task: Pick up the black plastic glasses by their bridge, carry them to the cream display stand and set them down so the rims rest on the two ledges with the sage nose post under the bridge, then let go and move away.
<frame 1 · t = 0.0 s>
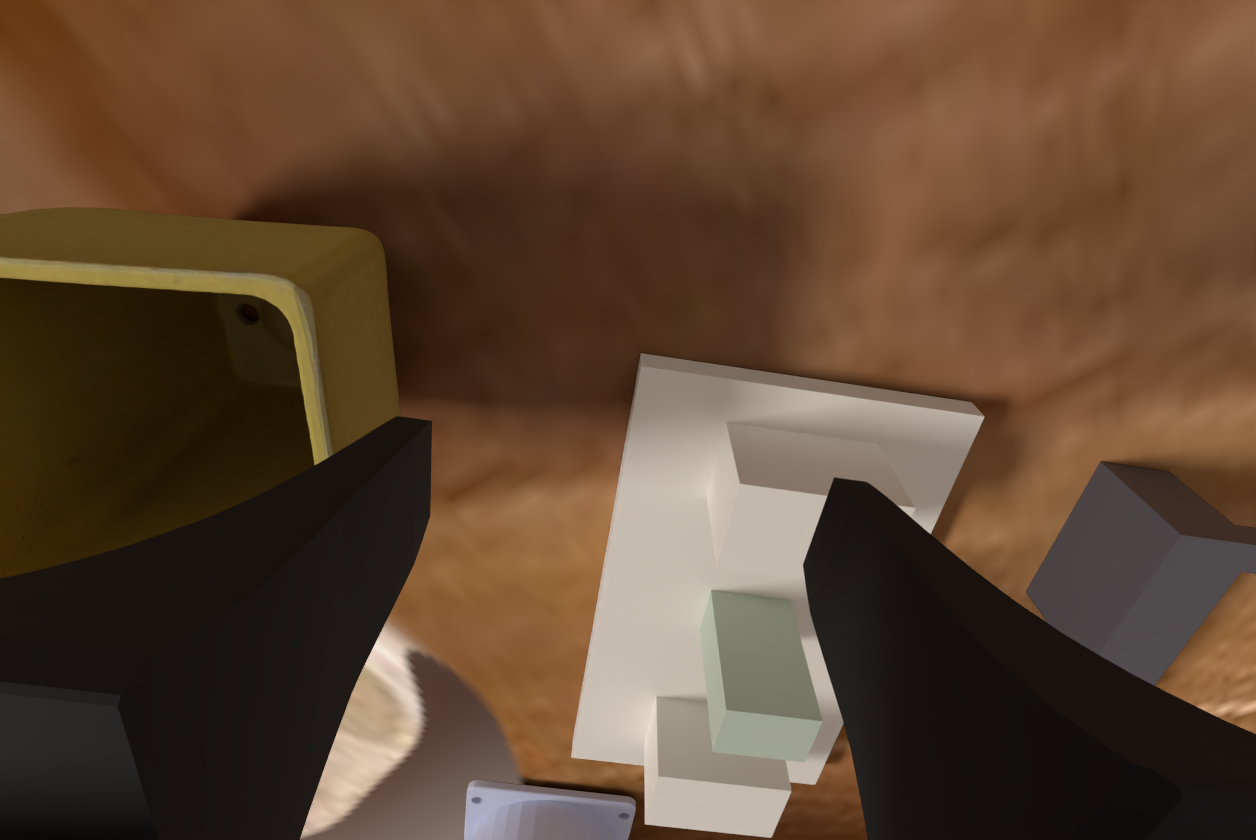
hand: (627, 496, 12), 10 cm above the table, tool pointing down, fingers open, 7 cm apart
flower pot: (310, 316, 22), on the table
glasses: (1034, 633, 27), on the table
display stand: (740, 596, 27), on the table
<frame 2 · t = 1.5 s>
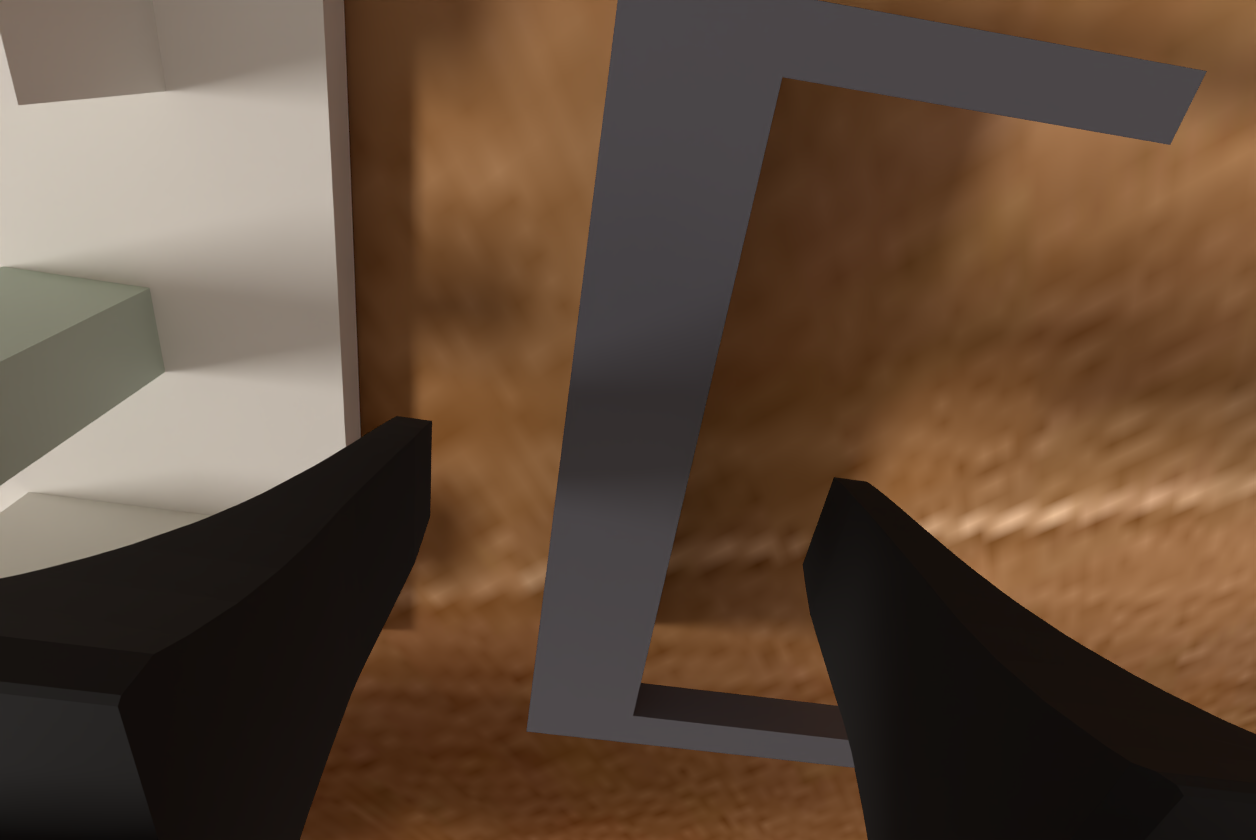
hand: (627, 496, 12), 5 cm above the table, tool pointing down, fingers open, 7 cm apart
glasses: (627, 379, 17), on the table
display stand: (117, 306, 16), on the table
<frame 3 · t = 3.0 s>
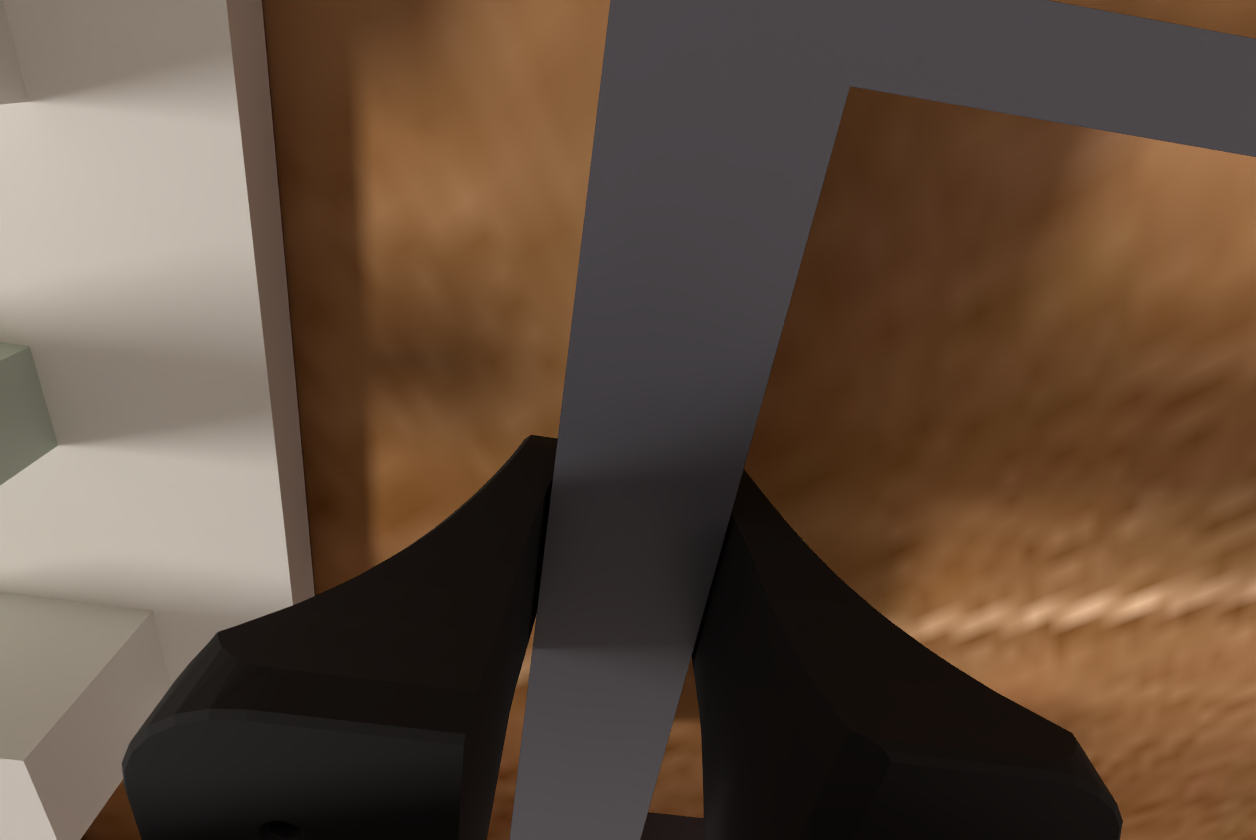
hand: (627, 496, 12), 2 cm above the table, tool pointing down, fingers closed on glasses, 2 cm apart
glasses: (628, 449, 14), on the table, touching gripper
display stand: (2, 362, 13), on the table
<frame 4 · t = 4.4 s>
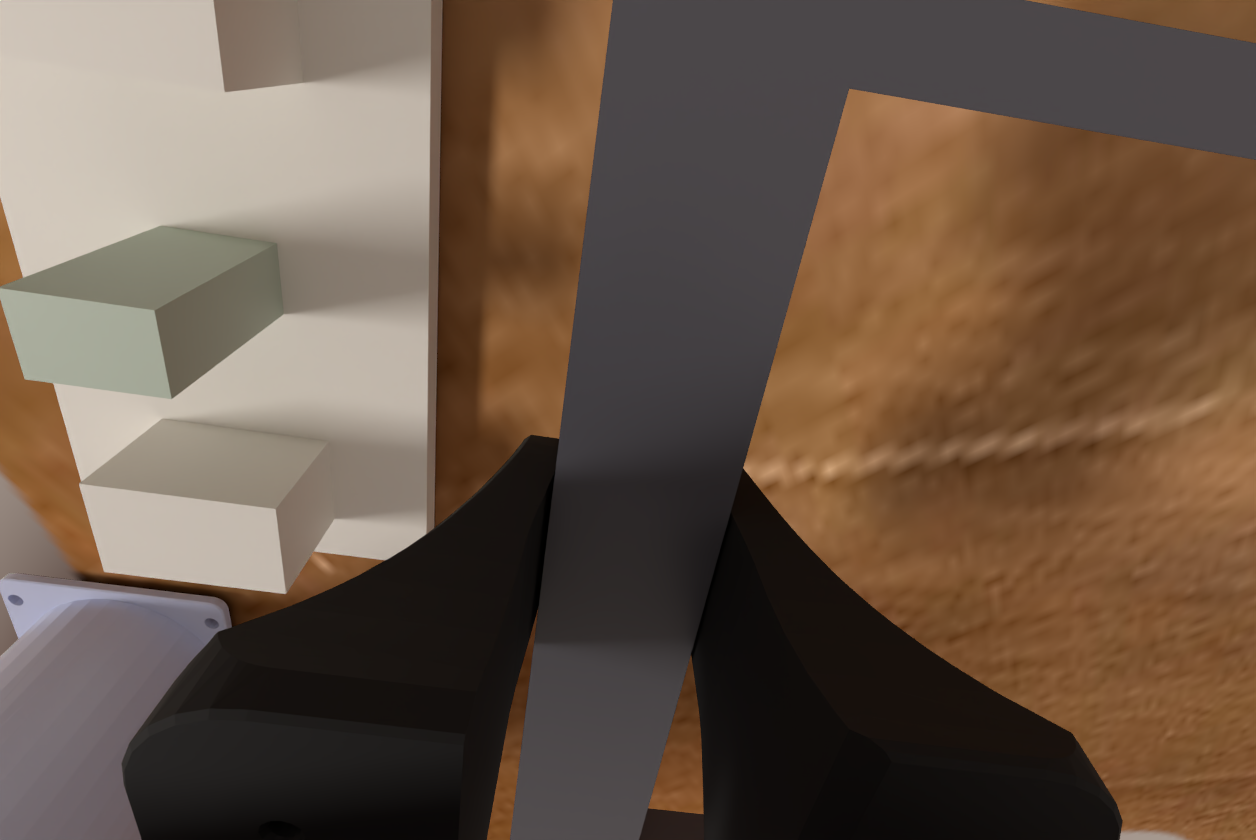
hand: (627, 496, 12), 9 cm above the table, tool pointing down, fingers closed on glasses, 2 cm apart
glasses: (629, 447, 14), point 7 cm above the table, touching gripper
display stand: (242, 260, 19), on the table
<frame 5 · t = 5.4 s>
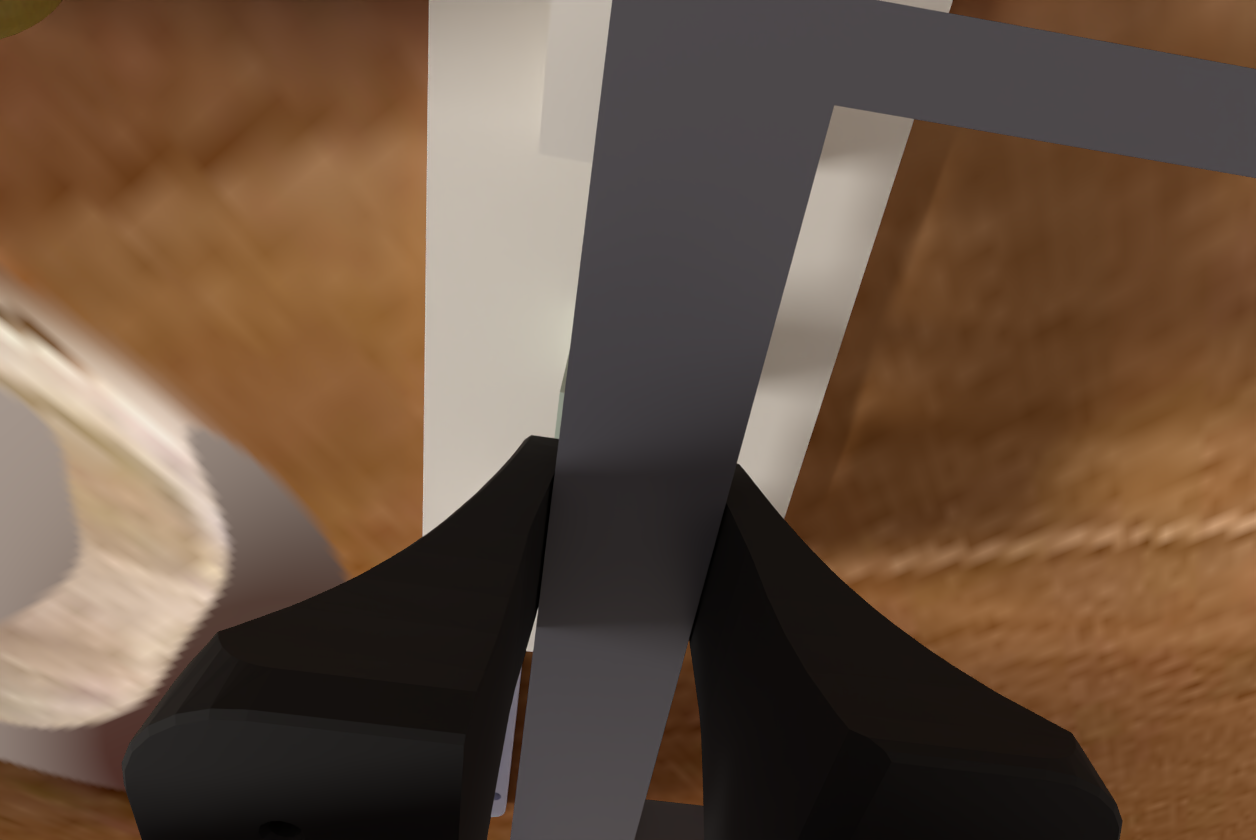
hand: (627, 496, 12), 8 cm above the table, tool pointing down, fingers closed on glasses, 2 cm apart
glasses: (627, 447, 14), point 6 cm above the table, touching gripper
display stand: (631, 333, 19), on the table
when the fingers open (7 cm above the table, at t = 6.2 s): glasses stays where it is, resting on display stand.
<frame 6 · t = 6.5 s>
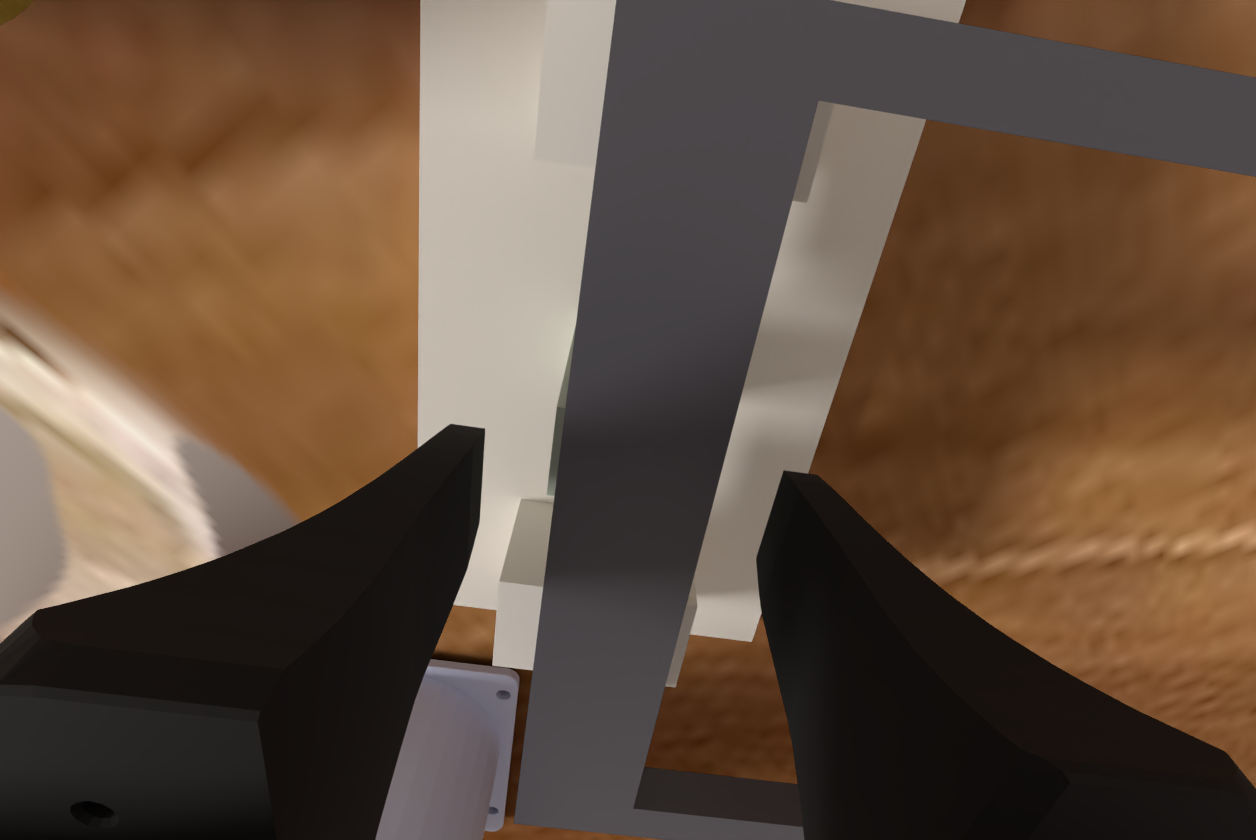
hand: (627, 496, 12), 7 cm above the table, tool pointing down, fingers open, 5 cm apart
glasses: (628, 429, 15), point 4 cm above the table, touching display stand
display stand: (632, 341, 19), on the table
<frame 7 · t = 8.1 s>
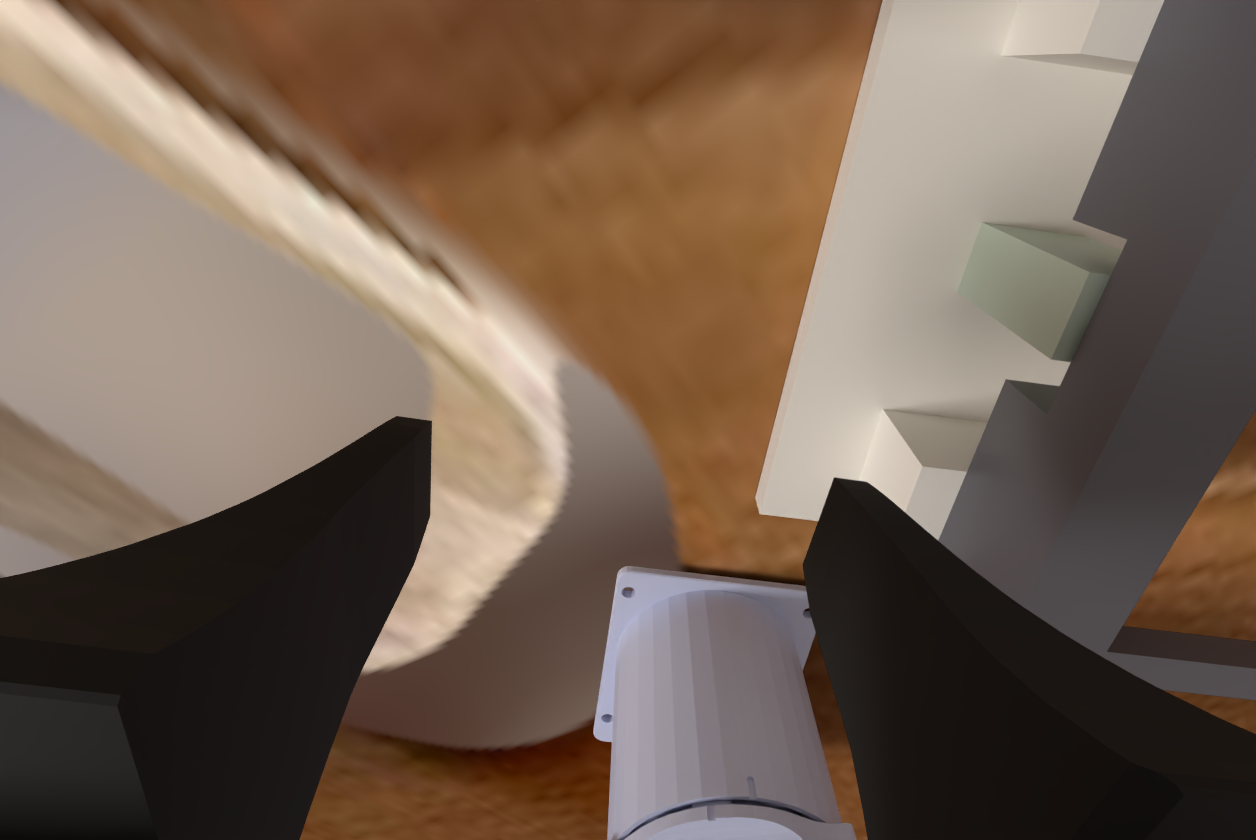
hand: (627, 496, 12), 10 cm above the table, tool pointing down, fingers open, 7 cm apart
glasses: (1087, 310, 17), point 4 cm above the table, touching display stand
display stand: (1003, 256, 20), on the table
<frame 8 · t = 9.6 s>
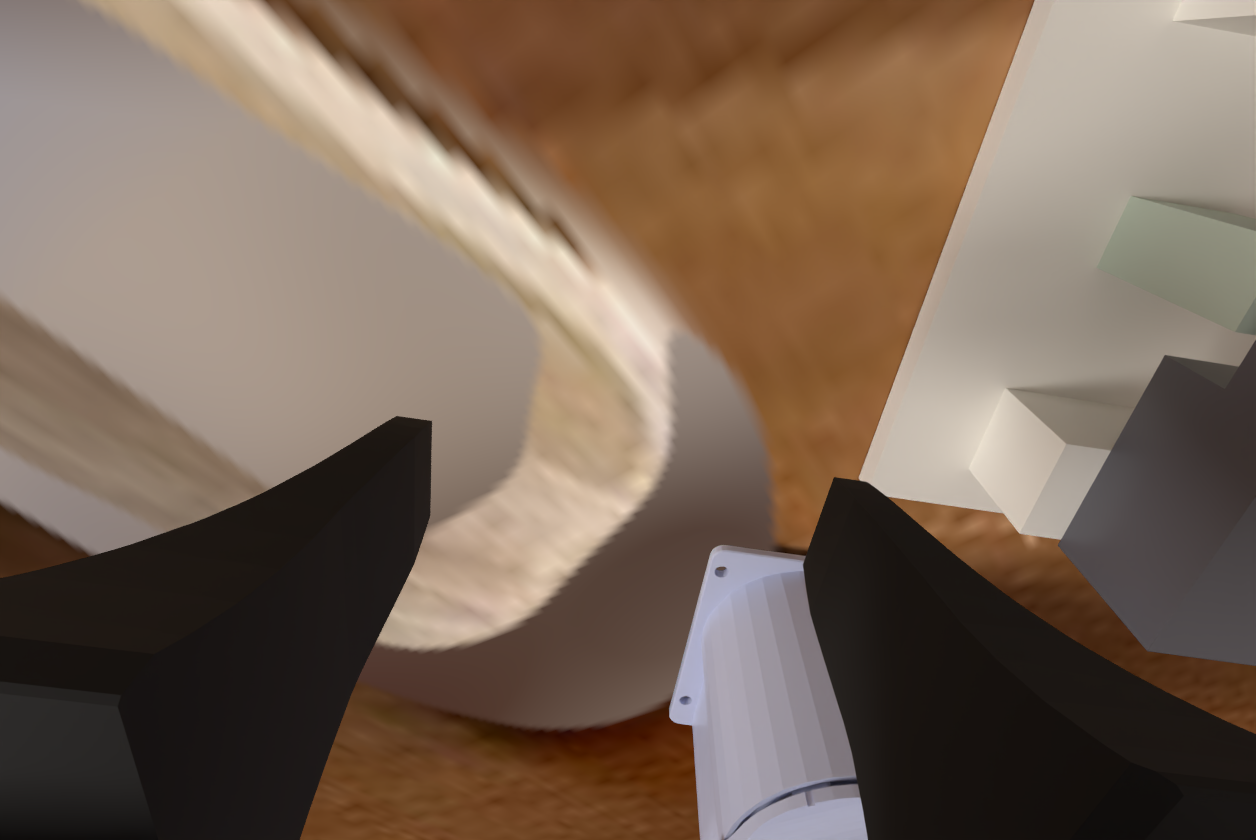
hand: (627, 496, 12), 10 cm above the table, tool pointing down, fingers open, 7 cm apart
display stand: (1141, 233, 20), on the table
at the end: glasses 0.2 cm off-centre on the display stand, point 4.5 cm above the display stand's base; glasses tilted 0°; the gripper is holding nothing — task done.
